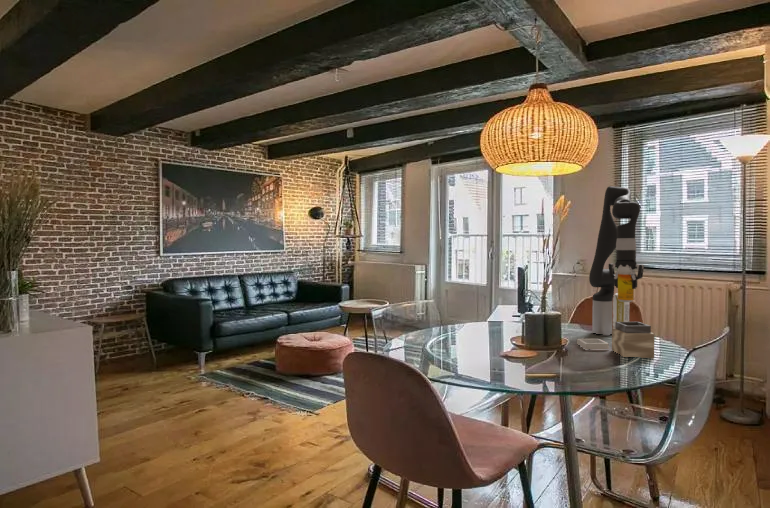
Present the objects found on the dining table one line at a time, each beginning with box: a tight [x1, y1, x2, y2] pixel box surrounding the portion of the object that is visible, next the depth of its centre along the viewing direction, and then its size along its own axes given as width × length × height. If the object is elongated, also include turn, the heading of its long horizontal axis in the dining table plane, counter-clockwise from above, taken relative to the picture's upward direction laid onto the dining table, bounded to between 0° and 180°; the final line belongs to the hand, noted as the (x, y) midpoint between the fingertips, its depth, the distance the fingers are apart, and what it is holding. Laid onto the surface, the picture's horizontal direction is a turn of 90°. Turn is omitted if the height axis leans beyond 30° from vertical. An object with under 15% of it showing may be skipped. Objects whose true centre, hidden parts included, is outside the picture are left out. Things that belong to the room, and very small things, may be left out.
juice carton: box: [612, 292, 630, 328], centre depth 259 cm, size 8×9×19 cm
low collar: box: [576, 338, 610, 349], centre depth 218 cm, size 10×10×3 cm
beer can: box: [617, 266, 635, 303], centre depth 206 cm, size 6×6×15 cm
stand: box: [611, 321, 656, 359], centre depth 205 cm, size 12×12×13 cm
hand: (625, 288), depth 206 cm, fingers closed on beer can, 6 cm apart
